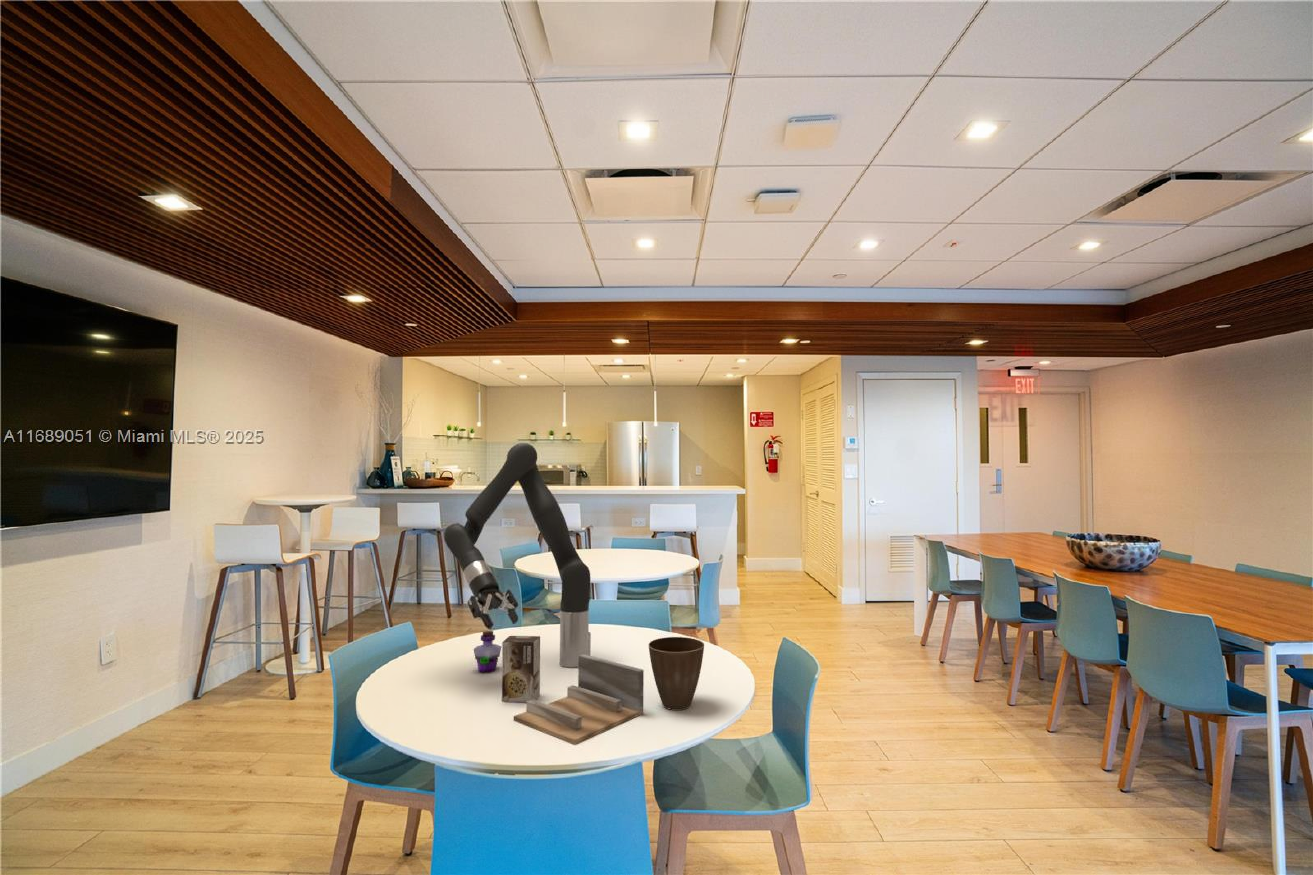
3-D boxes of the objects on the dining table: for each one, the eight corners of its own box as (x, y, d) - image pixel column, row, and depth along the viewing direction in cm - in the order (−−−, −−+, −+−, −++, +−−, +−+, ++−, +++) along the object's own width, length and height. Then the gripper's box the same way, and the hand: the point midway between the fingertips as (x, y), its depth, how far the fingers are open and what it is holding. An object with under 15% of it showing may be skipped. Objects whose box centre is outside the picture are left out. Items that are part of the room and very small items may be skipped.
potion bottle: (474, 675, 187) (475, 635, 188) (471, 667, 195) (472, 629, 196) (503, 672, 190) (504, 633, 191) (499, 664, 198) (500, 627, 199)
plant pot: (687, 720, 153) (687, 655, 154) (637, 708, 161) (637, 646, 162) (714, 702, 166) (713, 641, 167) (666, 691, 173) (666, 634, 174)
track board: (583, 694, 171) (583, 654, 172) (643, 713, 157) (643, 669, 158) (513, 720, 153) (514, 675, 153) (574, 744, 139) (575, 694, 139)
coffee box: (540, 694, 171) (541, 635, 172) (533, 703, 164) (534, 641, 166) (508, 693, 172) (509, 634, 173) (500, 701, 165) (501, 640, 166)
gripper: (465, 574, 176) (488, 621, 168) (506, 568, 187) (529, 612, 178) (454, 590, 179) (476, 637, 171) (495, 584, 190) (517, 628, 181)
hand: (503, 624), depth 175 cm, fingers open, 8 cm apart
